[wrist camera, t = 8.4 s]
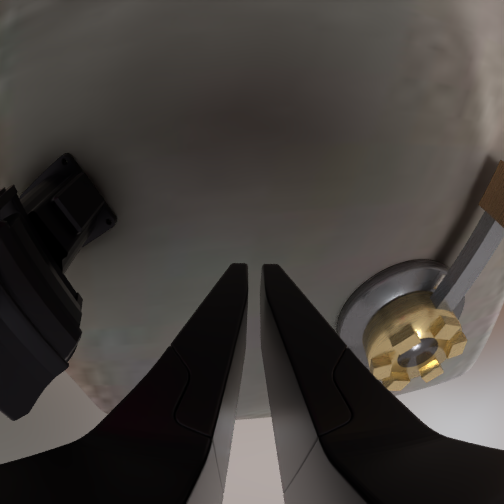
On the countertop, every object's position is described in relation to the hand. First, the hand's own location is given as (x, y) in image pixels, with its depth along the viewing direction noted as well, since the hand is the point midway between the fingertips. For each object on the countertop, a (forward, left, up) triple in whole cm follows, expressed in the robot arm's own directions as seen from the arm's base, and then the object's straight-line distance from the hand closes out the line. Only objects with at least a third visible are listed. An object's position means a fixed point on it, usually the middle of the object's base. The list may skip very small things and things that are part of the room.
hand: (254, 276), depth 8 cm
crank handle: (+10, -16, -11) cm, 22 cm away
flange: (+5, -20, -13) cm, 25 cm away
